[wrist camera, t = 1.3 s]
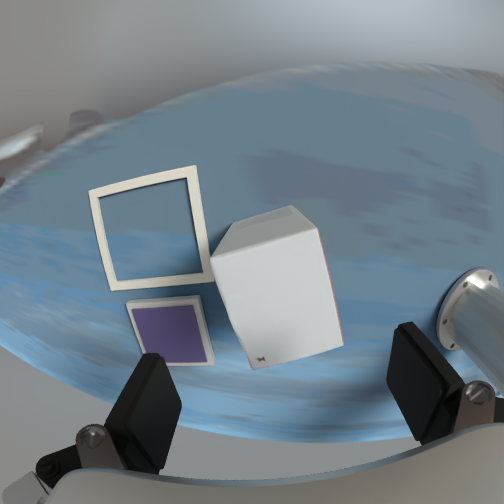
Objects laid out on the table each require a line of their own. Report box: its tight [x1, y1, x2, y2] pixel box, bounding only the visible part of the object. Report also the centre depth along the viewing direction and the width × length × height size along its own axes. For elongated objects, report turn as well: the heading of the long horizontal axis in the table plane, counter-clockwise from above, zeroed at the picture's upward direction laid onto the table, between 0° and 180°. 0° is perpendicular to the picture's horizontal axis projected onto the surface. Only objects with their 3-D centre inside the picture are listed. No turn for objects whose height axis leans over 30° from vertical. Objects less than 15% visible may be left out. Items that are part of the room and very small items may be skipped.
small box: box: [209, 205, 344, 370], centre depth 22 cm, size 8×6×13 cm
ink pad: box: [126, 295, 215, 366], centre depth 30 cm, size 9×9×1 cm
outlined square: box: [89, 165, 215, 291], centre depth 28 cm, size 13×12×1 cm
